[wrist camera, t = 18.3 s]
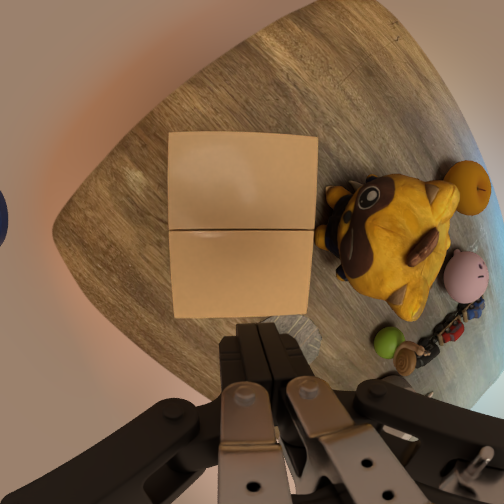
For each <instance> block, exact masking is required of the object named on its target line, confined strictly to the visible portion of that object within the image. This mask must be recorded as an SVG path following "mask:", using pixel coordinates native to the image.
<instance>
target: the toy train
mask: <svg viewBox="0 0 504 504" xmlns="http://www.w3.org/2000/svg"><path fill="white" fill-rule="evenodd" d="M459 307H460V309H459V312H458V313H457V314H456V316H455V315H452V314H449V315H447V316H446V318H445V320H446V323H445V324H444V325H442V324H439V325H437V326H436V327H435V331H436V332H435V333H434V335H435V337H432V339H431V340H430V339H427V338H422V339H421V340H420V341H419V346H422V347H424V349H425V350H426V351H424V352H430V355H427V356H424V354H423V355H420V356H419V355H417V353H416V352H415V351H414V352H415V355H416V366H415V368H419V367H421V366H425V365H426V364H427V363H429V362H430V361H431V360H432V359H433V358H435V357H436V356H437V355H438V354H439V353H440V349H439V347H438V345H436V344H435V343H436V342H437V341H438V342H439V345H440V346H443V343H447V342H448V341H456V340H457V339H458V338H459V337H460V336H461V335H462V333H463V332H464V325H463V323H462V322H461V317H463V322H468V320H470V319H472V318H479V317H480V316H481V314H482V310H483V309H484V308H485V303H484V299H483V295H482V296H481V297H480V298H478V299H477V300H476V301H474V302H471V303H460V304H459Z"/></svg>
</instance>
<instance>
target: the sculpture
mask: <svg viewBox="0 0 504 504" xmlns="http://www.w3.org/2000/svg"><path fill="white" fill-rule="evenodd" d="M267 322H274V323H275V325H276V327H277V330H278V332H279V334H283V333H288V334H289V335H291V336H292V337H293V338H295V339H296V340H297V342H298V344H299V346H300V349H301V350H302V352H303V355H304V356H305V358H306V360H307V362H308V364H310V363H311V362H312V361H313V360H314V359H315V358H316V356H318V353H319V348H320V343H321V339H322V337H321V335H320V333H319V330H318V328H317V327H316V326H315V325H314V323H313V322H312V321H311V320H310V319H309V318H307V317H304V316H302V315H298V314H296V315H280V316H272V317H270V318H268V319H266V320H265V321H263V322H261V323H267Z"/></svg>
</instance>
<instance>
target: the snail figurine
mask: <svg viewBox="0 0 504 504" xmlns="http://www.w3.org/2000/svg"><path fill="white" fill-rule="evenodd" d="M374 349H375V351H376V353H377V354H378V355H379V356H380V357H382V358H385V359H391V358H393V363H394V366H395V367H396V369H397V371H398V373H399V374H400V375H402V376H408V375H410V374H411V373H412V372H413V371H414V369H415V366H416V355H415V352H416V353H417V355H419V356H420V355H423V354H424V356H427V355H430V352H424V351H426V350H425V349H424V347H422V346H419V345H418V344H416V343H414V342H411V341H405V338H404V335H403V333H402V332H401V331H400V330H399V329H398V328H395V327H386V328H383V329H382V330H380V331H379V332H378V333H377V335H376V337H375V339H374ZM414 351H415V352H414Z"/></svg>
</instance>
